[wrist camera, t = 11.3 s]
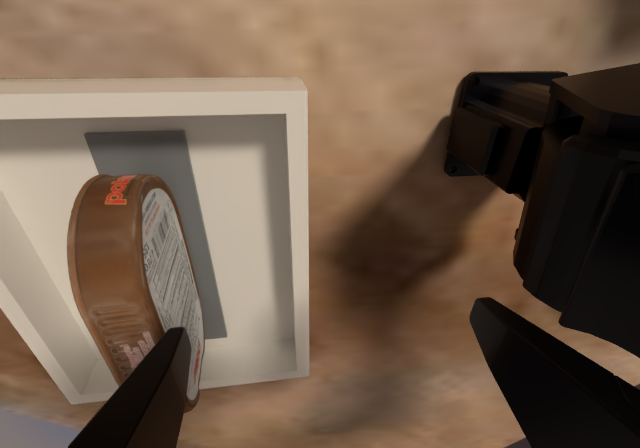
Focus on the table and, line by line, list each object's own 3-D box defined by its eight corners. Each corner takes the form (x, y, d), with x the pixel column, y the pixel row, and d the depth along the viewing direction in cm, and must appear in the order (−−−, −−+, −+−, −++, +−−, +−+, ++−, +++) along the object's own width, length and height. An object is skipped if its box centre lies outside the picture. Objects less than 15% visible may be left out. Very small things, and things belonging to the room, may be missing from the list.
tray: (299, 76, 18) (307, 90, 15) (304, 336, 30) (309, 376, 27) (-67, 79, 16) (-155, 95, 13) (94, 357, 28) (71, 404, 24)
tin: (114, 149, 18) (13, 238, 11) (175, 148, 18) (116, 232, 11) (175, 333, 26) (141, 453, 19) (216, 329, 26) (198, 445, 19)
